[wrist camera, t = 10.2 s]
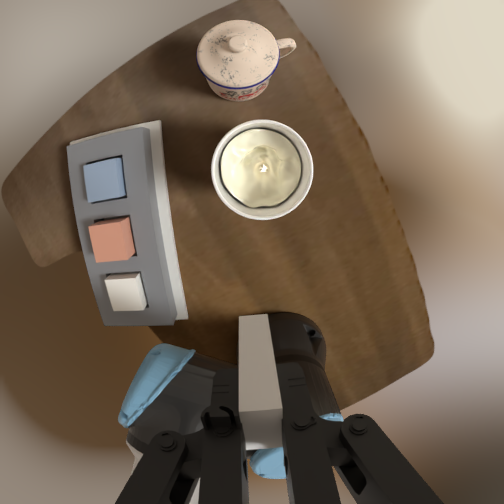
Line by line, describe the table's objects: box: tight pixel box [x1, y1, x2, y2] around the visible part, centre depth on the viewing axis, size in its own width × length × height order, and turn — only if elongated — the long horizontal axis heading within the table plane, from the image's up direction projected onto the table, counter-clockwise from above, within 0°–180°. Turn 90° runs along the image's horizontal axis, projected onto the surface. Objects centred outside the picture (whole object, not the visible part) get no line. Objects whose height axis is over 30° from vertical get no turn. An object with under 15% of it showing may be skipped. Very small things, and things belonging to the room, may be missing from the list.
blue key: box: [83, 158, 127, 203], centre depth 33 cm, size 5×5×3 cm
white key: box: [105, 271, 148, 311], centre depth 39 cm, size 5×5×3 cm
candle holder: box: [211, 120, 313, 220], centre depth 32 cm, size 10×10×12 cm
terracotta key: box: [88, 217, 135, 263], centre depth 35 cm, size 5×5×3 cm
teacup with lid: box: [196, 20, 296, 101], centre depth 28 cm, size 12×9×12 cm
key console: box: [67, 120, 189, 326], centre depth 38 cm, size 30×15×4 cm, turn 4°
